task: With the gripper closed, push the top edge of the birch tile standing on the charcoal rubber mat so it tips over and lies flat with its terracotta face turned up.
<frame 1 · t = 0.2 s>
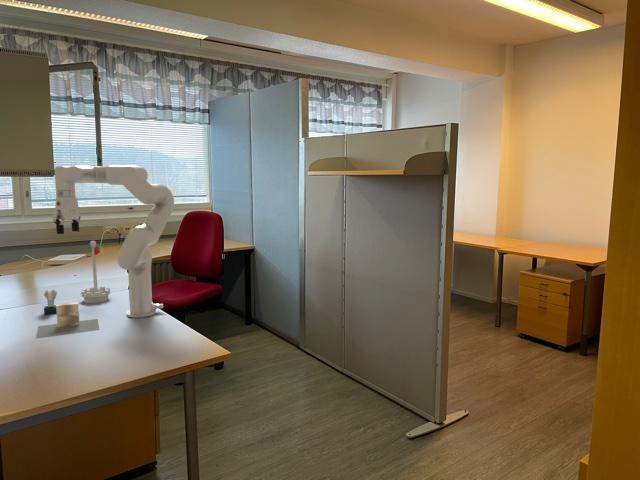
hand: (68, 232, 209), 37 cm above the table, tool pointing down, fingers open, 9 cm apart
mat: (68, 329, 190), on the table
watch: (51, 313, 211), on the table
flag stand: (96, 300, 234), on the table
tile: (68, 325, 193), resting on mat
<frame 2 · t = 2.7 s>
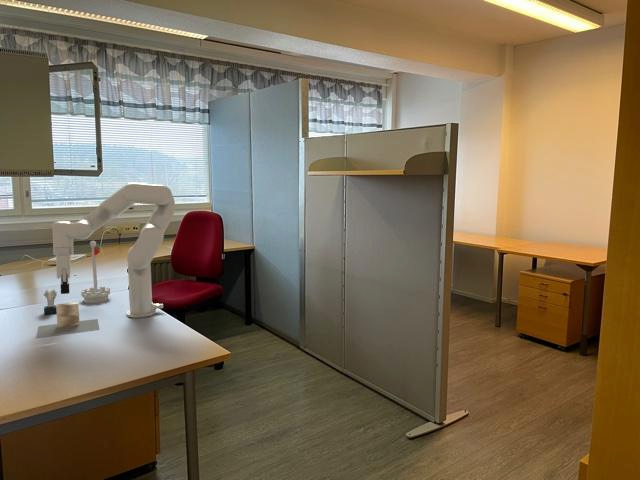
hand: (65, 293, 199), 12 cm above the table, tool pointing down, fingers closed
nothing on the table moved.
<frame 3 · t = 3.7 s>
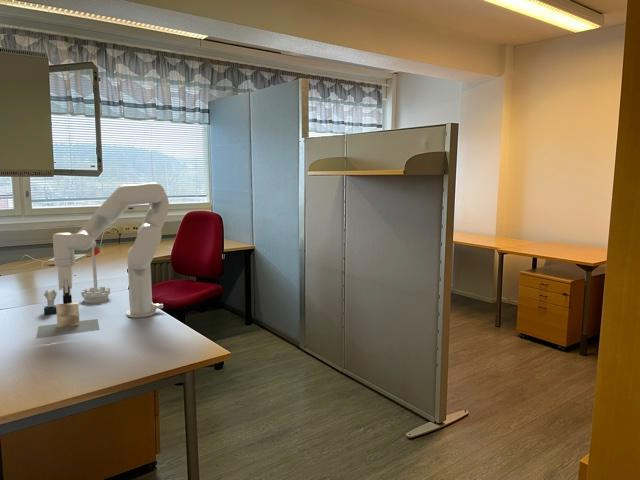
hand: (67, 304, 199), 8 cm above the table, tool pointing down, fingers closed
nothing on the table moved.
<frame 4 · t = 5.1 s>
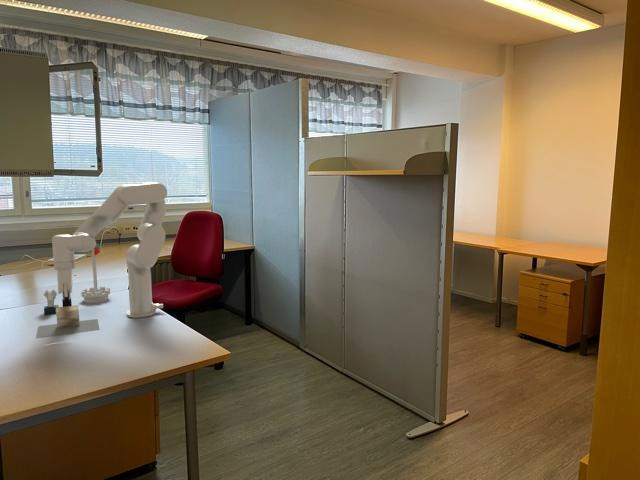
hand: (67, 308, 192), 8 cm above the table, tool pointing down, fingers closed
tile: (68, 323, 193), point 1 cm above the table, tilted 31°, touching mat
everything else where it was.
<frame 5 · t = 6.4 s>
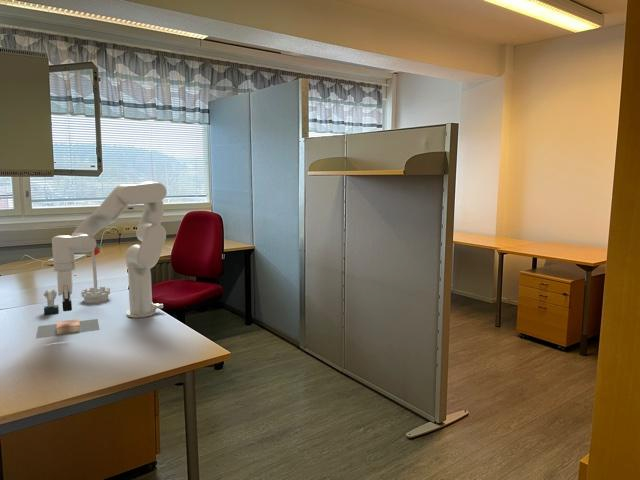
hand: (67, 310, 190), 8 cm above the table, tool pointing down, fingers closed
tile: (68, 323, 192), point 2 cm above the table, tilted 90°, touching mat
everything else where it was.
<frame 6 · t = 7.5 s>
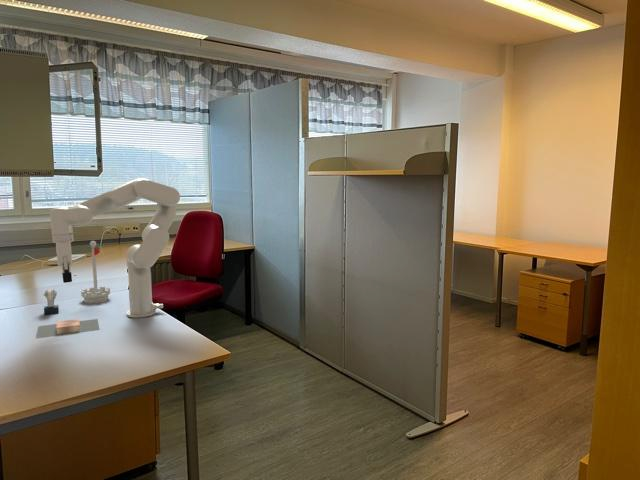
hand: (67, 281, 192), 19 cm above the table, tool pointing down, fingers closed
nothing on the table moved.
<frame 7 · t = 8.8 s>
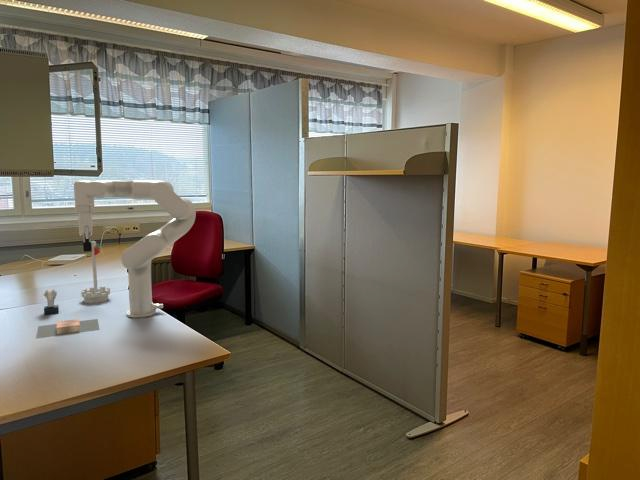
hand: (87, 251, 205), 29 cm above the table, tool pointing down, fingers closed
nothing on the table moved.
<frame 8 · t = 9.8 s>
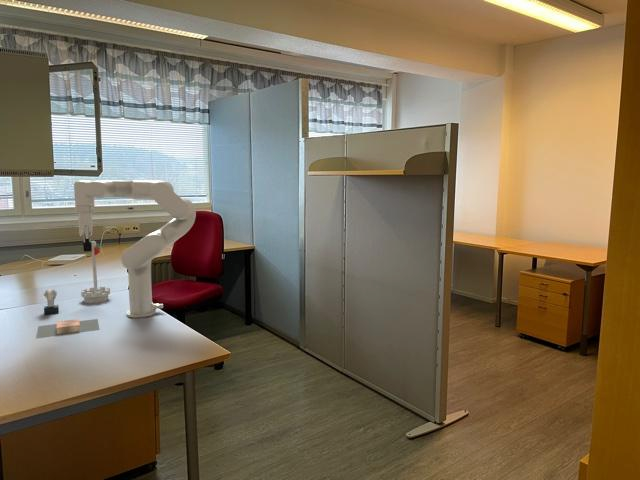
hand: (87, 251, 205), 29 cm above the table, tool pointing down, fingers closed
nothing on the table moved.
at the end: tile tilted 90°; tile inside the target area (1.2 cm from its centre), point 1.7 cm above the table; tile touching mat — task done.
